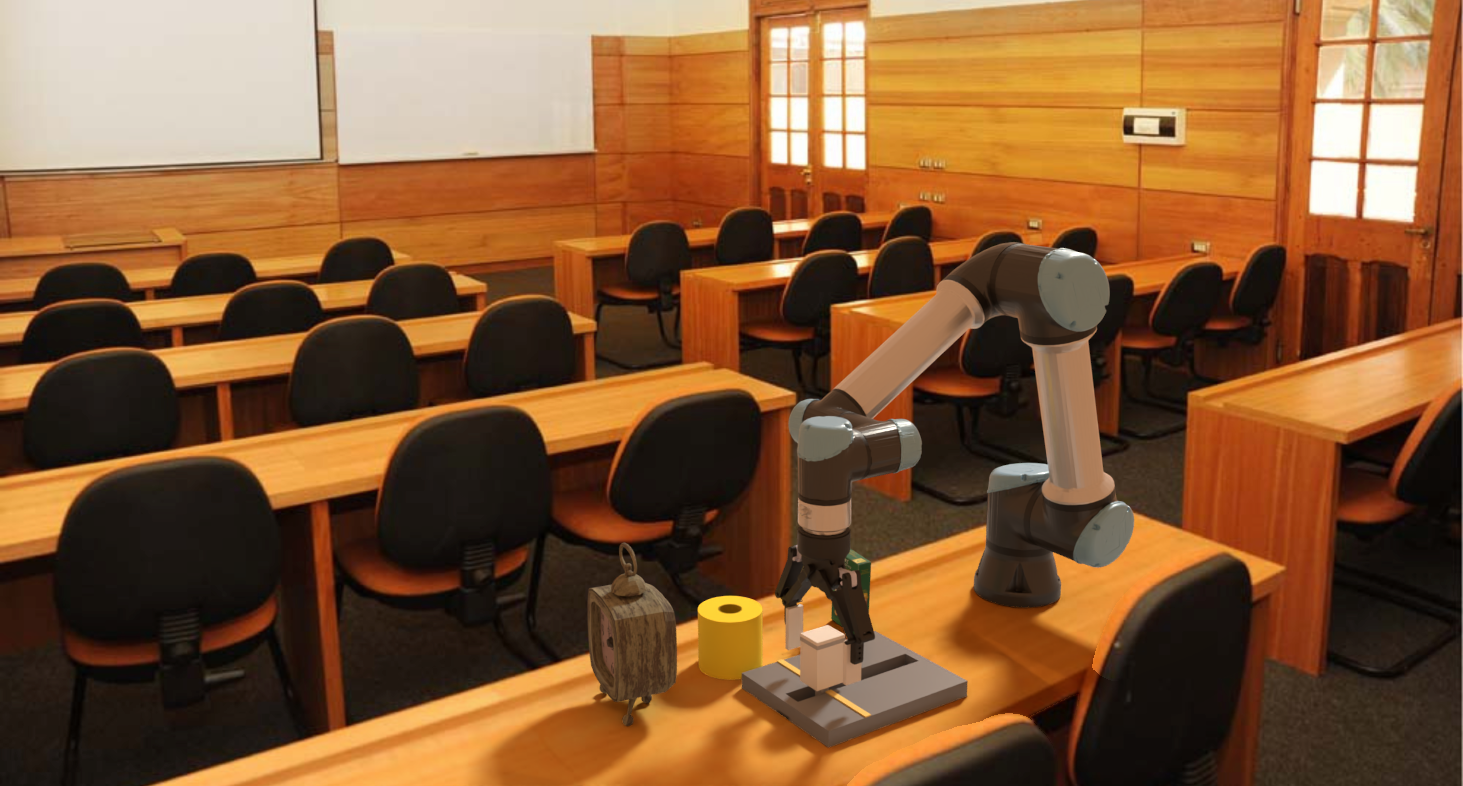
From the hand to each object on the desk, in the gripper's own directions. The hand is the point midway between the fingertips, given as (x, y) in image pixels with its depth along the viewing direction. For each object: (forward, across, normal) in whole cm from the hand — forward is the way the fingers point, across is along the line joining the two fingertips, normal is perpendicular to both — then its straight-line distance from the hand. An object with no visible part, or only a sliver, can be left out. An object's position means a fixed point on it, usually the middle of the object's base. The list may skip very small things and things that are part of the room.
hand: (822, 664), depth 184 cm
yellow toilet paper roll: (+6, -18, -4) cm, 20 cm away
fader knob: (+6, 0, 0) cm, 6 cm away
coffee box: (+6, -18, +20) cm, 28 cm away
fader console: (+6, 0, +6) cm, 9 cm away
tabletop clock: (+6, -15, -23) cm, 28 cm away
